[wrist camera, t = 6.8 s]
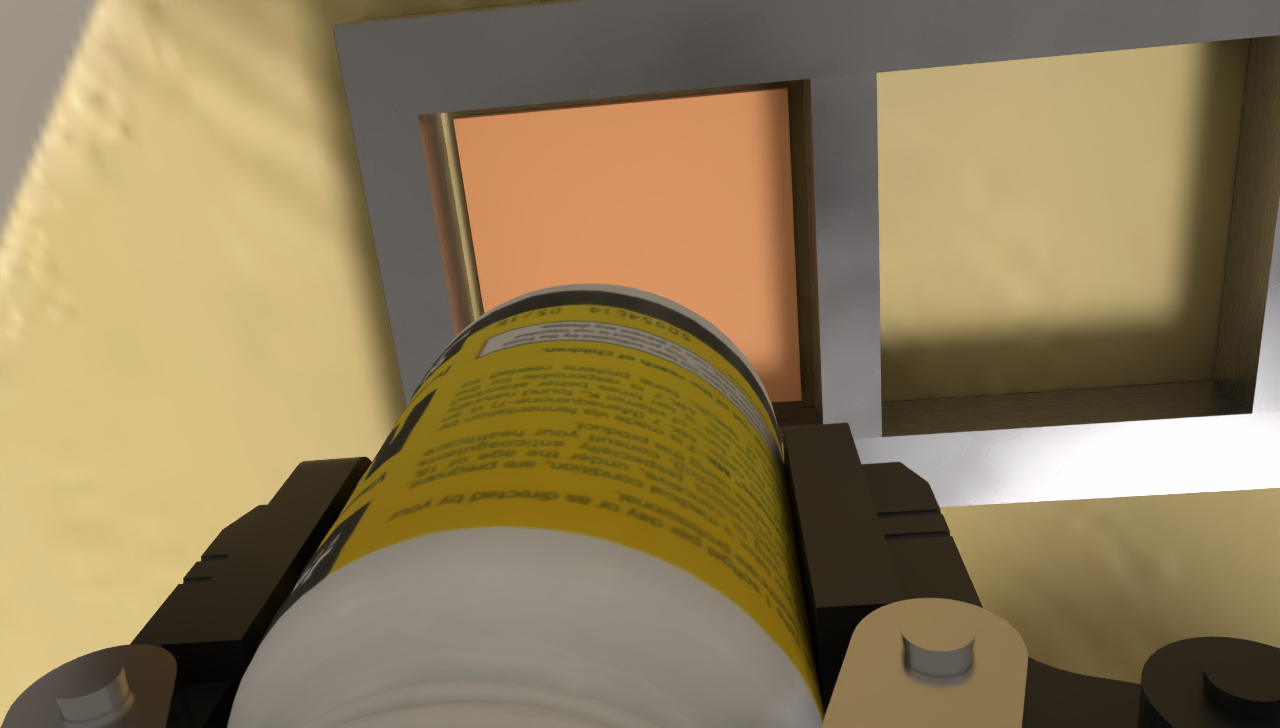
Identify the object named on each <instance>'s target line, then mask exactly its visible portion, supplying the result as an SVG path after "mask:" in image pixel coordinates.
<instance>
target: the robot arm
mask: <svg viewBox="0 0 1280 728" xmlns="http://www.w3.org/2000/svg"><path fill="white" fill-rule="evenodd" d="M783 452H784V467H785V475H786V480H787V487H788V494H789V500H790V504H791V511H792V518H793V525H794V531H795V538H796V545H797V551H798V558H799V565H800V572H801V577H802V584H803V591H804V597H805V603H806V608H807V614H808V619H809V625H810V631H811V637H812V644H813V651H814V657H815V663H816V668H817V674H818V680H819V686H820V692H821V698H822V703H823V708H824V713H825V717H824V720H823V723H822V726H821V728H1280V649H1279V648H1276V647H1272V646H1269V645H1266V644H1262V643H1258V642H1254V641H1249V640H1243V639H1236V638H1229V637H1197V638H1191V639H1185V640H1180V641H1177V642H1174V643H1171V644H1168V645H1166V646H1164V647H1162V648H1160V649H1159V650H1157V651H1156V652H1155V653H1154V654H1152V655H1151V656H1150V657H1149V659H1148V660H1147V662H1146V663H1145V665H1144V668H1143V671H1142V677H1141V684H1137V683H1130V682H1124V681H1117V680H1111V679H1105V678H1098V677H1092V676H1086V675H1081V674H1076V673H1071V672H1067V671H1064V670H1060V669H1057V668H1053V667H1051V666H1048V665H1046V664H1043V663H1041V662H1038V661H1036V660H1034V659H1032V658H1030V657H1028V651H1027V648H1026V645H1025V642H1024V640H1023V639H1022V637H1021V636H1020V634H1019V632H1018V631H1017V630H1016V629H1015V628H1014V627H1013V626H1012V625H1011V624H1009V623H1008V622H1007V621H1005V620H1004V619H1003V618H1001V617H1000V616H998V615H996V614H994V613H992V612H991V611H989V610H986V609H984V608H983V607H982V605H981V602H980V600H979V598H978V595H977V593H976V591H975V588H974V586H973V584H972V581H971V579H970V577H969V574H968V572H967V570H966V567H965V565H964V563H963V561H962V558H961V556H960V554H959V551H958V549H957V547H956V544H955V542H954V540H953V537H952V536H950V530H949V528H948V526H947V523H946V521H945V519H944V516H943V514H941V512H940V507H939V505H938V503H937V500H936V498H935V496H934V493H933V491H932V489H931V486H930V484H929V482H927V481H926V480H925V479H923V478H922V477H920V476H919V475H918V474H916V473H915V472H914V471H912V470H911V469H909V468H908V467H907V466H905V465H904V464H903V463H901V462H887V463H872V464H861V461H860V458H859V455H858V452H857V449H856V446H855V442H854V439H853V436H852V433H851V430H850V427H849V424H848V422H846V423H832V424H818V425H804V426H791V427H783ZM371 463H372V462H371V460H370V459H369V458H367V457H355V458H341V459H327V460H314V461H303V462H301V463H300V464H299V465H298V466H297V467H296V468H295V470H294V471H293V472H292V474H291V475H290V476H289V478H288V479H287V480H286V482H285V483H284V484H283V486H282V487H281V488H280V489H279V491H278V492H277V493H276V495H275V496H274V497H273V499H272V500H271V501H270V503H269V504H268V505H258V506H257V507H256V508H254V509H253V510H251V511H250V512H248V513H247V514H245V515H244V516H242V517H241V518H239V519H238V520H236V521H235V522H233V523H232V524H230V525H229V526H227V527H226V528H224V529H223V530H222V531H221V532H220V534H219V535H218V536H217V537H216V539H215V540H214V541H213V542H212V544H211V545H210V546H209V547H208V548H207V550H206V551H205V552H204V553H203V555H202V556H201V561H200V562H196V563H195V565H194V566H193V567H192V568H191V570H190V571H189V572H188V573H187V574H186V576H185V577H184V578H183V580H184V582H183V584H178V586H177V587H176V588H175V589H174V591H173V592H172V593H171V594H170V595H169V597H168V598H167V599H166V600H165V602H164V603H163V604H162V605H161V607H160V608H159V609H158V610H157V612H156V613H155V614H154V615H153V617H152V618H151V619H150V620H149V621H148V623H147V624H146V625H145V626H144V628H143V629H142V630H141V631H140V633H139V634H138V635H137V636H136V638H135V639H134V640H133V641H132V642H131V644H130V645H121V646H116V647H111V648H106V649H103V650H99V651H95V652H92V653H89V654H87V655H84V656H81V657H78V658H76V659H74V660H72V661H70V662H67V663H65V664H63V665H61V666H60V667H58V668H56V669H54V670H52V671H50V672H49V673H47V674H46V675H44V676H43V677H41V678H40V679H38V680H37V681H36V682H34V683H33V684H32V685H31V686H29V687H28V688H27V689H26V690H25V691H24V692H23V693H22V694H21V695H20V696H19V697H18V698H17V699H16V700H15V702H14V703H13V704H12V705H11V707H10V709H9V711H8V712H7V714H6V716H5V719H4V721H3V723H2V726H1V728H227V725H228V721H229V717H230V713H231V710H232V706H233V702H234V699H235V696H236V694H237V691H238V688H239V685H240V683H241V680H242V678H243V676H244V674H245V672H246V670H247V668H248V666H249V665H250V663H251V661H252V659H253V657H254V654H255V652H256V650H257V648H258V645H259V643H260V641H261V640H262V638H263V637H264V635H265V633H266V631H267V629H268V627H269V626H270V624H271V622H272V620H273V618H274V616H275V614H276V613H277V611H278V610H279V608H280V607H281V606H282V605H283V603H284V602H285V601H286V600H287V598H288V597H289V596H290V594H291V593H292V591H293V590H294V588H295V586H296V583H297V581H298V579H299V577H300V575H301V573H302V571H303V570H304V568H305V567H306V565H307V564H308V562H309V561H310V559H311V558H312V557H313V555H314V554H315V553H316V551H317V550H318V548H319V546H320V544H321V543H322V541H323V539H324V538H325V536H326V535H327V533H328V532H329V530H330V529H331V528H332V526H333V525H334V523H335V521H336V520H337V518H338V517H339V515H340V514H341V512H342V510H343V508H344V507H345V505H346V503H347V501H348V499H349V497H350V495H351V494H352V492H353V491H354V489H355V487H356V485H357V483H358V481H359V480H360V478H361V477H362V476H363V474H364V473H365V472H366V470H367V469H368V467H369V466H370V464H371Z"/></svg>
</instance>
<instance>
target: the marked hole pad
mask: <svg viewBox="0 0 1280 728" xmlns="http://www.w3.org/2000/svg"><path fill="white" fill-rule="evenodd" d="M453 120H454V127H455V133H456V139H457V145H458V152H459V158H460V164H461V170H462V177H463V183H464V189H465V196H466V202H467V208H468V214H469V221H470V227H471V233H472V239H473V246H474V252H475V258H476V264H477V271H478V277H479V283H480V290H481V296H482V302H483V308H484V313H486V312H488V311H489V310H491V309H493V308H494V307H496V306H498V305H500V304H502V303H504V302H507V301H509V300H511V299H513V298H516V297H518V296H520V295H523V294H526V293H529V292H532V291H536V290H540V289H544V288H549V287H553V286H560V285H568V284H596V283H600V284H611V285H620V286H626V287H632V288H636V289H640V290H643V291H647V292H650V293H654V294H656V295H659V296H662V297H665V298H668V299H670V300H672V301H674V302H677V303H679V304H680V305H682V306H684V307H686V308H688V309H690V310H692V311H694V312H695V313H697V314H698V315H700V316H701V317H703V318H704V319H706V320H707V321H709V322H710V323H712V324H713V325H714V326H715V327H717V328H718V329H719V330H720V331H721V332H722V333H724V334H725V335H726V336H727V337H728V338H729V339H730V340H731V341H732V342H733V343H734V344H735V345H736V347H737V348H738V349H739V350H740V351H741V352H742V354H743V355H744V356H745V357H746V358H747V360H748V361H749V362H750V364H751V365H752V367H753V368H754V370H755V371H756V373H757V375H758V376H759V378H760V380H761V382H762V384H763V386H764V388H765V390H766V392H767V394H768V397H769V399H770V402H771V403H772V402H787V401H802V399H801V377H800V355H799V333H798V310H797V288H796V266H795V244H794V222H793V199H792V177H791V155H790V133H789V110H788V89H787V87H775V88H765V89H754V90H743V91H732V92H721V93H710V94H700V95H689V96H678V97H667V98H656V99H645V100H634V101H624V102H613V103H602V104H591V105H580V106H569V107H559V108H548V109H537V110H526V111H515V112H504V113H494V114H483V115H472V116H461V117H456V118H455V119H453Z"/></svg>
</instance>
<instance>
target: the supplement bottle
mask: <svg viewBox="0 0 1280 728" xmlns="http://www.w3.org/2000/svg"><path fill="white" fill-rule="evenodd" d="M824 717H825V713H824V708H823V703H822V698H821V692H820V686H819V680H818V674H817V668H816V663H815V657H814V651H813V644H812V637H811V631H810V625H809V619H808V614H807V608H806V603H805V597H804V591H803V584H802V577H801V572H800V565H799V558H798V551H797V545H796V538H795V531H794V525H793V518H792V511H791V504H790V500H789V494H788V487H787V480H786V475H785V467H784V456H783V450H782V443H781V438H780V434H779V430H778V426H777V422H776V418H775V414H774V411H773V407H772V404H771V402H770V399H769V397H768V394H767V392H766V390H765V388H764V386H763V384H762V382H761V380H760V378H759V376H758V375H757V373H756V371H755V370H754V368H753V367H752V365H751V364H750V362H749V361H748V360H747V358H746V357H745V356H744V355H743V354H742V352H741V351H740V350H739V349H738V348H737V347H736V345H735V344H734V343H733V342H732V341H731V340H730V339H729V338H728V337H727V336H726V335H725V334H724V333H722V332H721V331H720V330H719V329H718V328H717V327H715V326H714V325H713V324H712V323H710V322H709V321H707V320H706V319H704V318H703V317H701V316H700V315H698V314H697V313H695V312H694V311H692V310H690V309H688V308H686V307H684V306H682V305H680V304H679V303H677V302H674V301H672V300H670V299H668V298H665V297H662V296H659V295H656V294H654V293H650V292H647V291H643V290H640V289H636V288H632V287H626V286H620V285H611V284H600V283H596V284H568V285H560V286H553V287H549V288H544V289H540V290H536V291H532V292H529V293H526V294H523V295H520V296H518V297H516V298H513V299H511V300H509V301H507V302H504V303H502V304H500V305H498V306H496V307H494V308H493V309H491V310H489V311H488V312H486V313H484V314H483V315H481V316H480V317H479V318H477V319H476V320H475V321H473V322H472V323H471V324H469V325H468V326H467V327H466V328H465V329H464V330H462V331H461V332H460V333H459V334H458V335H457V336H456V337H455V338H454V339H453V340H452V341H451V342H450V343H449V345H448V346H447V347H446V348H445V349H444V351H443V352H442V353H441V354H440V356H439V357H438V358H437V359H436V361H435V362H434V364H433V365H432V366H431V368H430V369H429V370H428V372H427V373H426V375H425V377H424V378H423V380H422V382H421V383H420V384H419V386H418V387H417V388H416V390H415V392H414V394H413V396H412V398H411V400H410V402H409V404H408V405H407V407H406V408H405V410H404V411H403V413H402V415H401V416H400V418H399V419H398V421H397V422H396V424H395V425H394V427H393V429H392V431H391V432H390V434H389V436H388V437H387V439H386V441H385V442H384V444H383V445H382V447H381V449H380V450H379V452H378V454H377V455H376V457H375V458H374V460H373V461H372V463H371V464H370V466H369V467H368V469H367V470H366V472H365V473H364V474H363V476H362V477H361V478H360V480H359V481H358V483H357V485H356V487H355V489H354V491H353V492H352V494H351V495H350V497H349V499H348V501H347V503H346V505H345V507H344V508H343V510H342V512H341V514H340V515H339V517H338V518H337V520H336V521H335V523H334V525H333V526H332V528H331V529H330V530H329V532H328V533H327V535H326V536H325V538H324V539H323V541H322V543H321V544H320V546H319V548H318V550H317V551H316V553H315V554H314V555H313V557H312V558H311V559H310V561H309V562H308V564H307V565H306V567H305V568H304V570H303V571H302V573H301V575H300V577H299V579H298V581H297V583H296V586H295V588H294V590H293V591H292V593H291V594H290V596H289V597H288V598H287V600H286V601H285V602H284V603H283V605H282V606H281V607H280V608H279V610H278V611H277V613H276V614H275V616H274V618H273V620H272V622H271V624H270V626H269V627H268V629H267V631H266V633H265V635H264V637H263V638H262V640H261V641H260V643H259V645H258V648H257V650H256V652H255V654H254V657H253V659H252V661H251V663H250V665H249V666H248V668H247V670H246V672H245V674H244V676H243V678H242V680H241V683H240V685H239V688H238V691H237V694H236V696H235V699H234V702H233V706H232V710H231V713H230V717H229V721H228V725H227V728H821V726H822V723H823V720H824Z"/></svg>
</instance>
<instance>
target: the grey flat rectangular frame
mask: <svg viewBox="0 0 1280 728" xmlns="http://www.w3.org/2000/svg"><path fill="white" fill-rule="evenodd" d="M332 27H333V32H334V38H335V43H336V48H337V53H338V58H339V63H340V68H341V74H342V79H343V84H344V89H345V94H346V99H347V104H348V110H349V115H350V120H351V125H352V130H353V135H354V140H355V145H356V151H357V156H358V161H359V166H360V171H361V176H362V181H363V187H364V192H365V197H366V202H367V207H368V212H369V217H370V223H371V228H372V233H373V238H374V243H375V248H376V253H377V259H378V264H379V269H380V274H381V279H382V284H383V289H384V295H385V300H386V305H387V310H388V315H389V320H390V325H391V331H392V336H393V341H394V346H395V351H396V356H397V361H398V367H399V372H400V377H401V382H402V387H403V392H404V397H405V402H406V407H407V405H408V404H409V402H410V400H411V398H412V396H413V394H414V392H415V390H416V388H417V387H418V386H419V384H420V383H421V382H422V380H423V378H424V377H425V375H426V373H427V372H428V370H429V369H430V368H431V366H432V365H433V364H434V362H435V361H436V359H437V358H438V357H439V356H440V354H441V353H442V352H443V351H444V349H445V348H446V347H447V346H448V345H449V343H450V342H451V341H452V340H453V339H454V338H455V337H456V336H457V335H458V334H459V333H460V332H461V331H462V330H464V329H465V328H466V327H467V326H468V325H469V324H471V323H472V322H473V321H474V315H473V309H472V303H471V297H470V291H469V285H468V279H467V272H466V266H465V260H464V254H463V248H462V242H461V236H460V230H459V224H458V217H457V211H456V205H455V199H454V193H453V187H452V181H451V175H450V168H449V162H448V156H447V150H446V144H445V138H444V132H443V126H442V120H441V113H446V112H456V111H467V110H478V109H489V108H500V107H510V106H521V105H532V104H543V103H553V102H564V101H575V100H586V99H597V98H607V97H618V96H629V95H640V94H651V93H661V92H672V91H683V90H694V89H705V88H715V87H726V86H737V85H748V84H758V83H769V82H780V81H791V80H802V81H803V106H804V131H805V156H806V181H807V206H808V231H809V256H810V282H811V307H812V332H813V357H814V382H815V407H807V408H792V409H777V410H773V411H774V414H775V418H776V422H777V426H778V430H779V434H780V438H781V443H782V450H783V427H791V426H804V425H818V424H832V423H846V422H848V424H849V427H850V430H851V433H852V436H853V439H854V442H855V446H856V449H857V452H858V455H859V458H860V461H861V464H872V463H887V462H901V463H903V464H904V465H905V466H907V467H908V468H909V469H911V470H912V471H914V472H915V473H916V474H918V475H919V476H920V477H922V478H923V479H925V480H926V481H927V482H929V484H930V486H931V489H932V491H933V493H934V496H935V498H936V500H937V503H938V505H939V507H950V506H967V505H984V504H1002V503H1019V502H1036V501H1054V500H1071V499H1088V498H1105V497H1123V496H1140V495H1157V494H1174V493H1192V492H1209V491H1226V490H1244V489H1261V488H1278V487H1280V0H551V1H541V2H531V3H521V4H511V5H502V6H492V7H482V8H472V9H462V10H452V11H442V12H432V13H422V14H412V15H403V16H393V17H383V18H373V19H363V20H357V21H353V22H348V23H344V24H340V25H335V26H332ZM1244 38H1251V43H1250V52H1249V62H1248V71H1247V80H1246V89H1245V98H1244V107H1243V116H1242V125H1241V135H1240V144H1239V153H1238V162H1237V171H1236V180H1235V189H1234V198H1233V208H1232V217H1231V226H1230V235H1229V244H1228V253H1227V262H1226V271H1225V281H1224V290H1223V299H1222V308H1221V317H1220V326H1219V335H1218V344H1217V354H1216V363H1215V372H1214V381H1199V382H1184V383H1169V384H1154V385H1138V386H1123V387H1108V388H1093V389H1078V390H1063V391H1048V392H1033V393H1018V394H1003V395H988V396H973V397H958V398H943V399H928V400H913V401H898V402H883V403H881V347H880V280H879V213H878V146H877V79H876V73H877V72H888V71H899V70H909V69H920V68H931V67H942V66H953V65H963V64H974V63H985V62H996V61H1007V60H1017V59H1028V58H1039V57H1050V56H1060V55H1071V54H1082V53H1093V52H1104V51H1114V50H1125V49H1136V48H1147V47H1158V46H1168V45H1179V44H1190V43H1201V42H1212V41H1222V40H1233V39H1244ZM783 456H784V452H783Z"/></svg>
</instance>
